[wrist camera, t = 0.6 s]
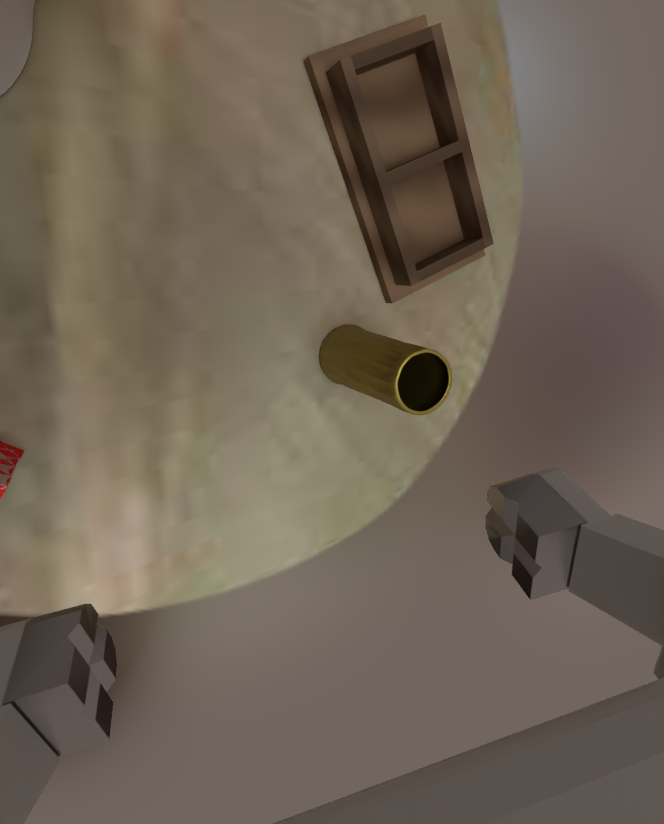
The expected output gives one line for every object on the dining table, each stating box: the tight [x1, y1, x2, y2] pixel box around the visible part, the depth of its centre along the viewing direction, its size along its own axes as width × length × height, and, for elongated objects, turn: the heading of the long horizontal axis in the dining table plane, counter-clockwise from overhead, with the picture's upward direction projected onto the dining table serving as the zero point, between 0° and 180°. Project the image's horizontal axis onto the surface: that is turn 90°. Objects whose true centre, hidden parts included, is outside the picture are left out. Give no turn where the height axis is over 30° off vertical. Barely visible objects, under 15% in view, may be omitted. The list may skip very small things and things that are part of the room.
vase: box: [320, 325, 452, 415], centre depth 45 cm, size 6×6×14 cm
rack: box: [304, 15, 493, 303], centre depth 47 cm, size 22×12×4 cm, turn 23°
